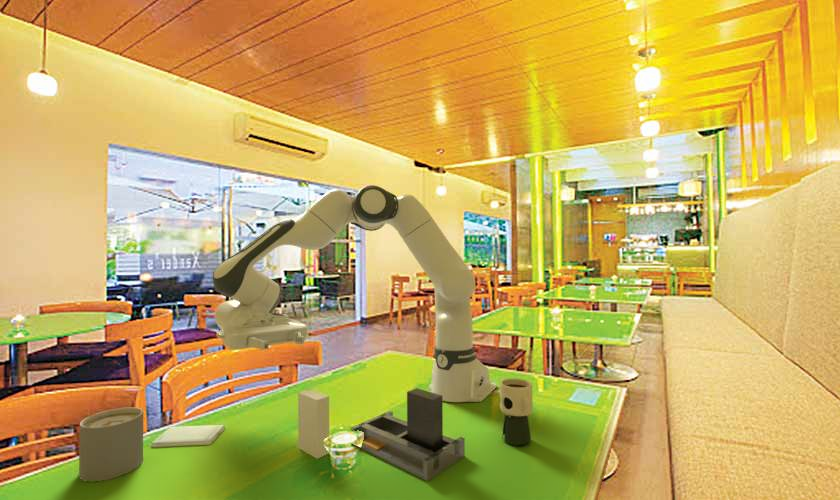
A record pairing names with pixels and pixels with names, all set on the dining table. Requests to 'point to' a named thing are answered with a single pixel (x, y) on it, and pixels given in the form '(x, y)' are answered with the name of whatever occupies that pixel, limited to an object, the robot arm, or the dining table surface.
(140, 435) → the coffee mug
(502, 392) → the character mug
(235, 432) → the dining table surface
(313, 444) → the beige rectangular block
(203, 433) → the hard drive
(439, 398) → the rack
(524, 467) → the dining table surface
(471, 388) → the robot arm
